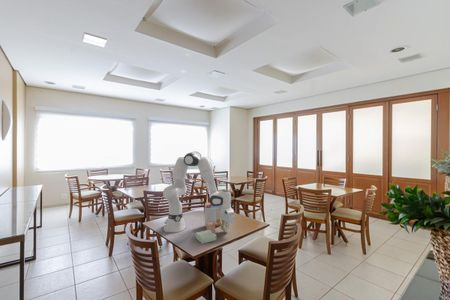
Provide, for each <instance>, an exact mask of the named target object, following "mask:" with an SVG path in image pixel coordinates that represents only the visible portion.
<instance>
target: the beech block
mask: <svg viewBox="0 0 450 300" xmlns="http://www.w3.org/2000/svg"><path fill="white" fill-rule="evenodd" d="M226 225H227V222H225V221H224V220H221V226H220V229H221V230H222V231H223V232H226V231H230V226H229V227H226Z"/></svg>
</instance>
